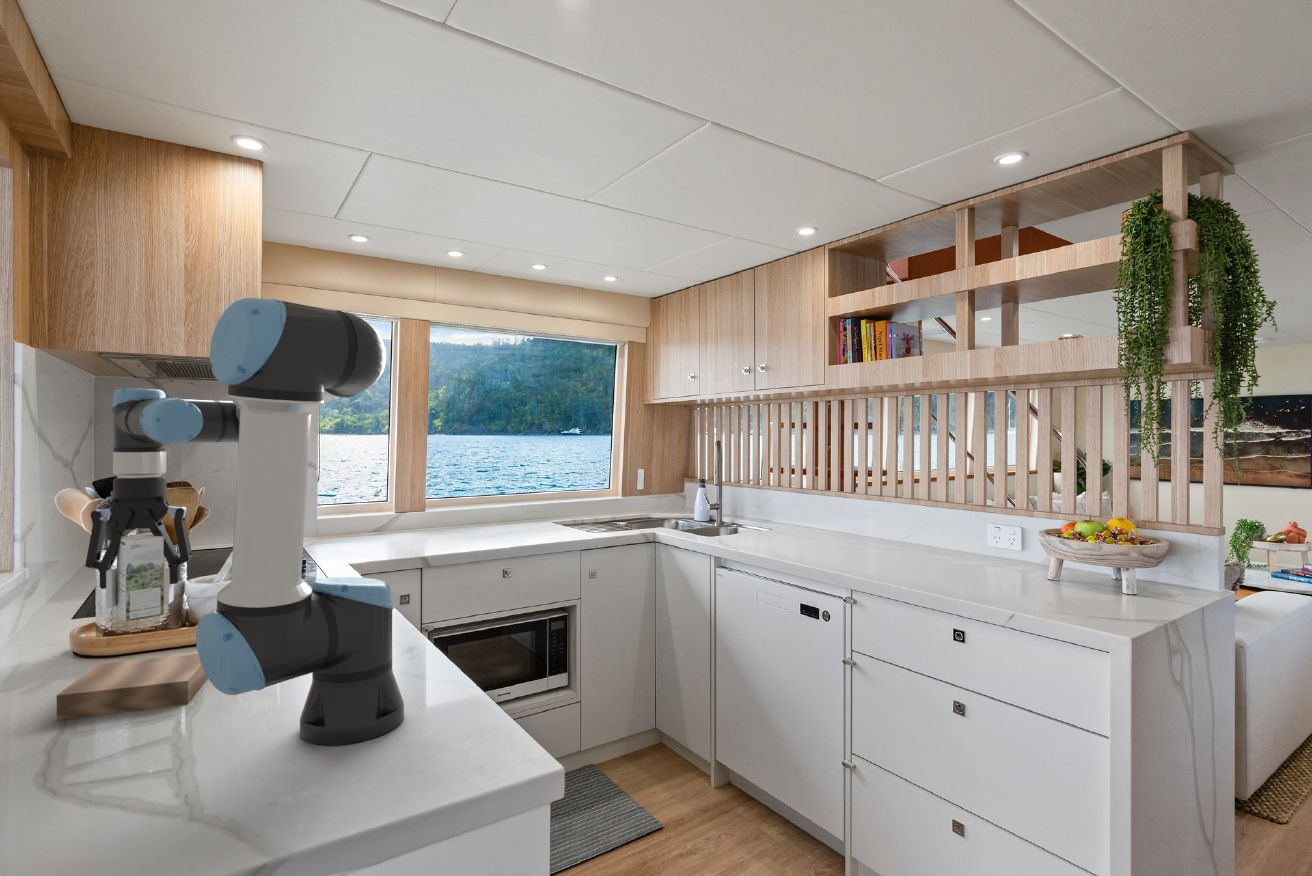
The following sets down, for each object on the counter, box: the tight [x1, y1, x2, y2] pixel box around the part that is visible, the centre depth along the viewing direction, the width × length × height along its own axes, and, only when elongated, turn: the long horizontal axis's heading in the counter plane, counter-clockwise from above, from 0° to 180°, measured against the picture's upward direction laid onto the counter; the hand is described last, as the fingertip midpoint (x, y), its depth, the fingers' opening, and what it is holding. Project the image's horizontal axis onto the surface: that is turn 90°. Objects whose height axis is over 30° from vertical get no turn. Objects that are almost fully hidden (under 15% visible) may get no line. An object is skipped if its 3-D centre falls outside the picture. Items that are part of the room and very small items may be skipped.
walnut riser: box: [56, 653, 209, 721], centre depth 119 cm, size 18×16×4 cm
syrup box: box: [116, 532, 166, 622], centre depth 119 cm, size 6×6×14 cm
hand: (140, 604), depth 119 cm, fingers closed on syrup box, 8 cm apart
